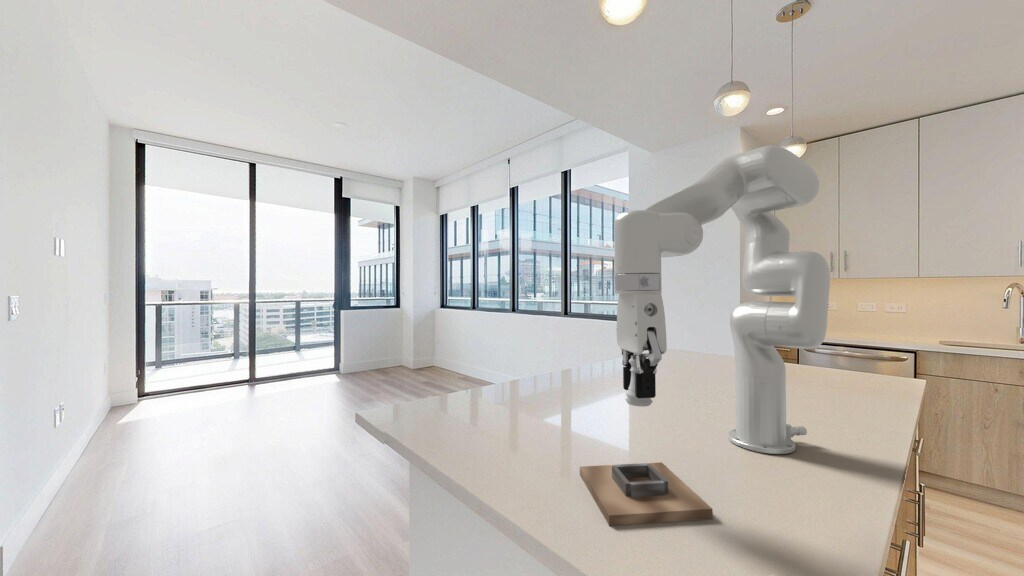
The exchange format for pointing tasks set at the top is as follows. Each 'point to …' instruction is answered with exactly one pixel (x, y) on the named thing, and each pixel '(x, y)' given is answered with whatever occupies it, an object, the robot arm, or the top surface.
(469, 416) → the top surface
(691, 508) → the jig board
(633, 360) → the rook chess piece
